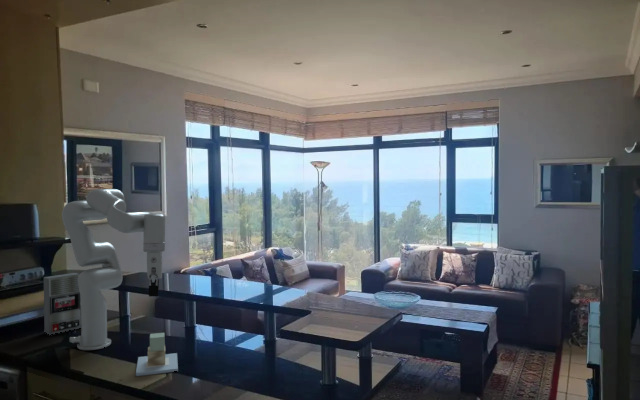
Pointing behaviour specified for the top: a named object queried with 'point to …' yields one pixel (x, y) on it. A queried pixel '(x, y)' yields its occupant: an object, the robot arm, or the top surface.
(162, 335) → the sage block
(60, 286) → the cassette tape recorder
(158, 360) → the birch block
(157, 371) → the board
